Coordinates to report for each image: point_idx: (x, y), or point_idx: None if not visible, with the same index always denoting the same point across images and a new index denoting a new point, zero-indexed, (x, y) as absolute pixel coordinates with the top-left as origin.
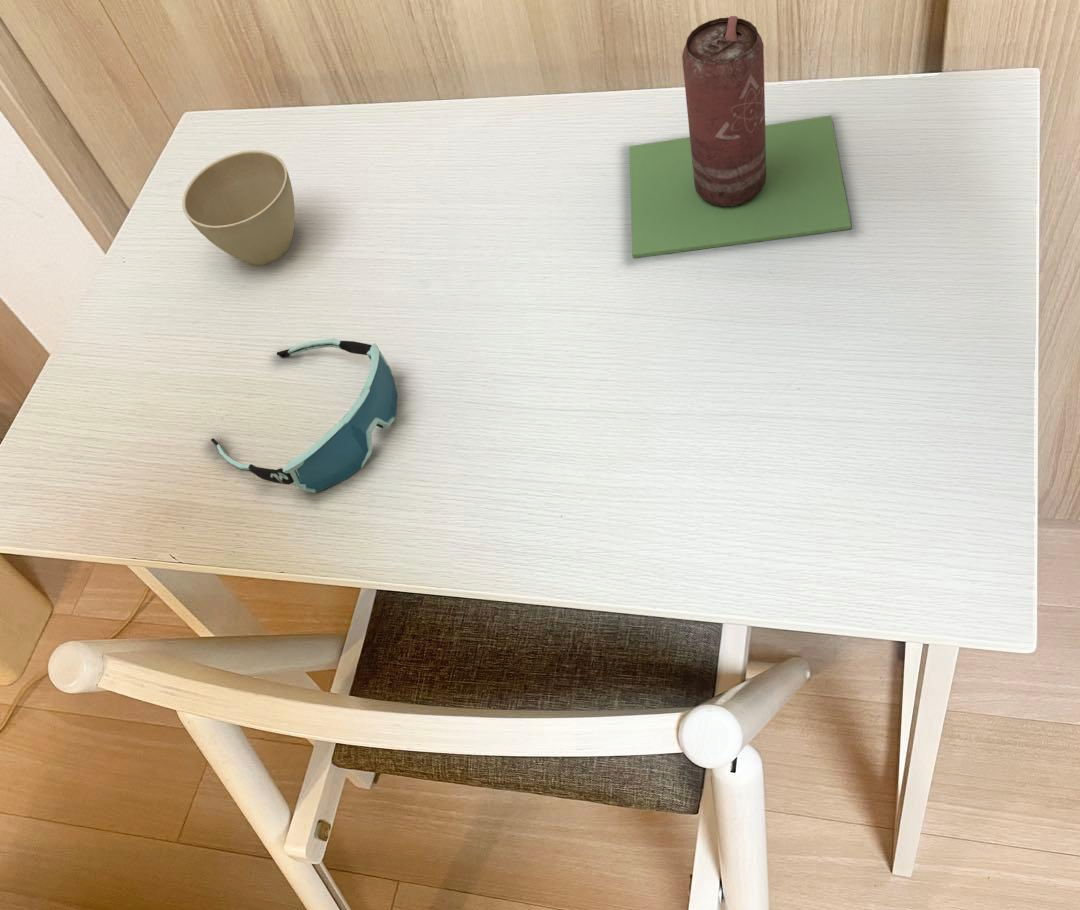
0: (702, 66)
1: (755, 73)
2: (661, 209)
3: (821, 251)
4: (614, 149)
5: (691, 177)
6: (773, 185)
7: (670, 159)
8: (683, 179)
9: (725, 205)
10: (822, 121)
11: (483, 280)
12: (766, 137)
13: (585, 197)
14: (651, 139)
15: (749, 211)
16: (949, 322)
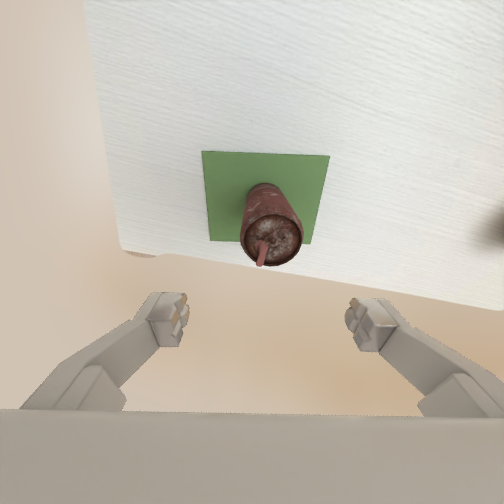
0: (292, 217)
1: (248, 213)
2: (304, 192)
3: (219, 134)
4: (317, 245)
5: None
6: (242, 196)
7: None
8: None
9: (270, 183)
10: (214, 237)
11: (422, 157)
12: None
13: (341, 214)
14: None
15: (257, 178)
16: (138, 32)
